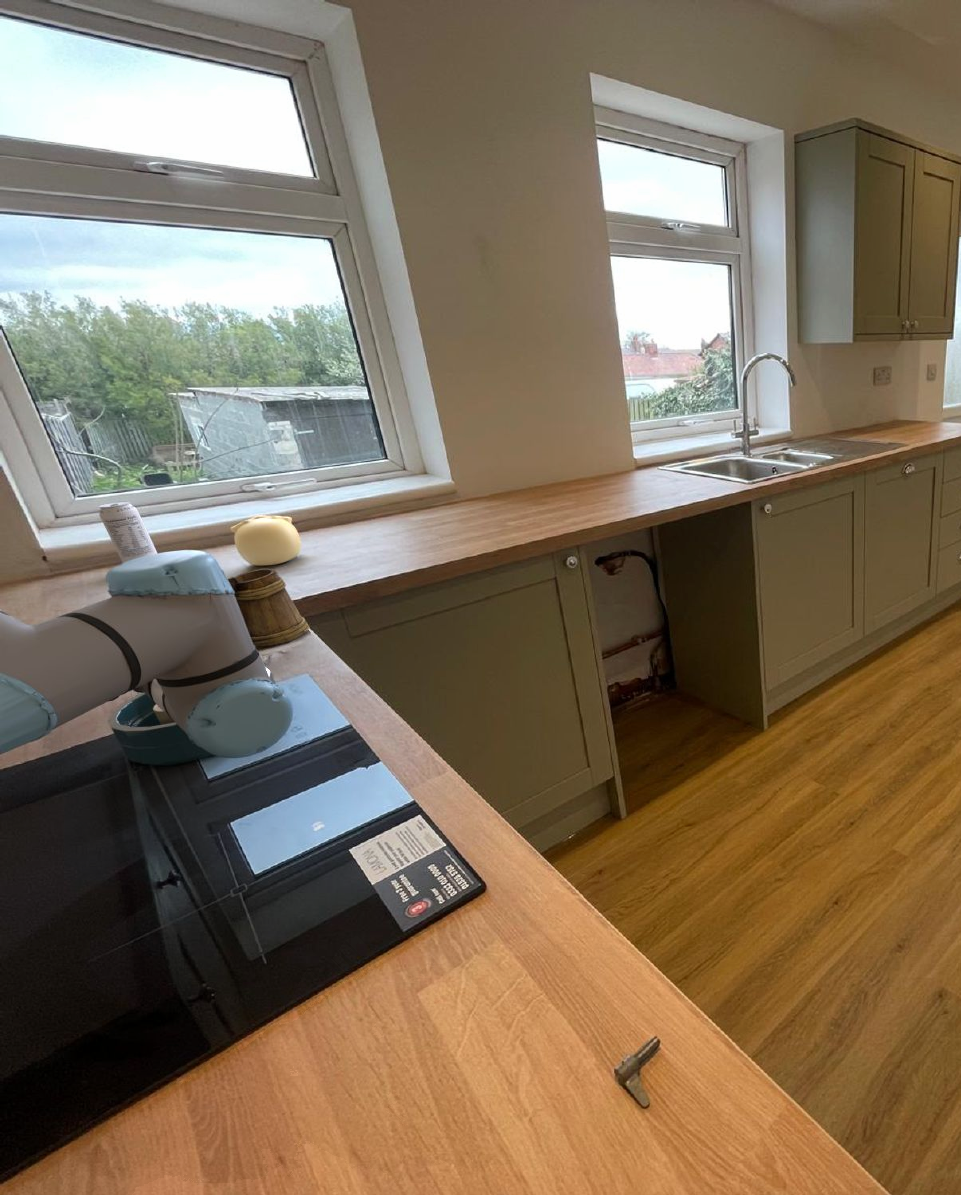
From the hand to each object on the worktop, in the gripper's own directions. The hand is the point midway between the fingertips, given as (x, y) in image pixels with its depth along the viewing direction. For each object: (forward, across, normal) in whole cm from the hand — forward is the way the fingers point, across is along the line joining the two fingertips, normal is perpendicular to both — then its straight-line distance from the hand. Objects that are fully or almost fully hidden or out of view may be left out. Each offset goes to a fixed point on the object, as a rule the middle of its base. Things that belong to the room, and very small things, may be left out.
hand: (138, 633), depth 81 cm
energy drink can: (+92, -16, +13) cm, 94 cm away
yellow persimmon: (+67, -33, +13) cm, 76 cm away
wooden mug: (+19, -15, +13) cm, 27 cm away
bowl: (-7, -1, +13) cm, 15 cm away
